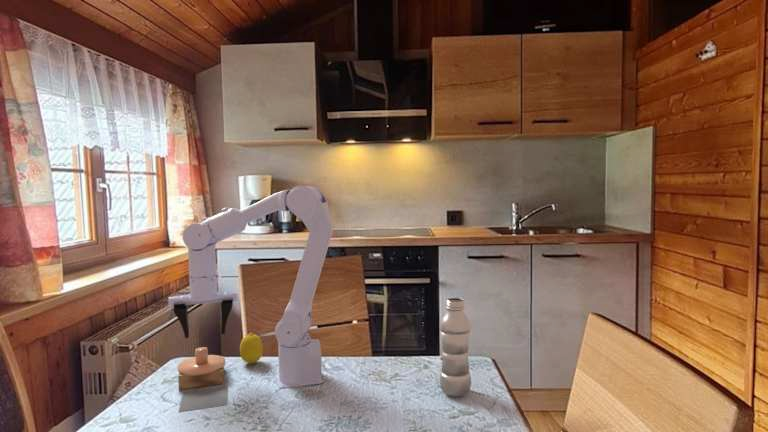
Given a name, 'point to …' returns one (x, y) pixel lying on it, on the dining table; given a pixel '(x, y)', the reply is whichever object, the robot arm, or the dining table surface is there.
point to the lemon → (251, 348)
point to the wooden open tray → (201, 380)
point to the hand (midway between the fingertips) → (205, 334)
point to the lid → (201, 363)
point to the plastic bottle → (455, 349)
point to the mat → (204, 399)
